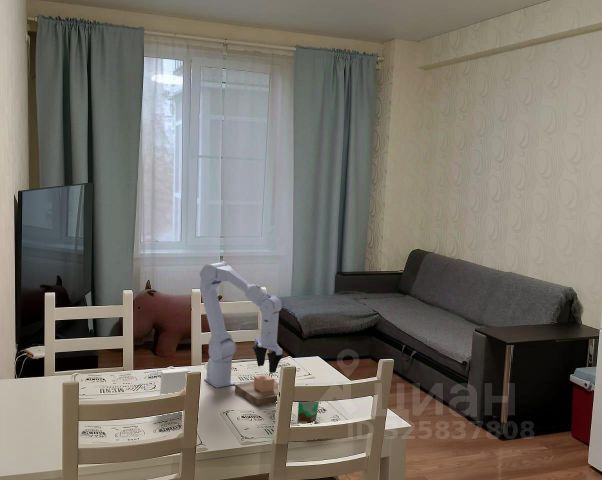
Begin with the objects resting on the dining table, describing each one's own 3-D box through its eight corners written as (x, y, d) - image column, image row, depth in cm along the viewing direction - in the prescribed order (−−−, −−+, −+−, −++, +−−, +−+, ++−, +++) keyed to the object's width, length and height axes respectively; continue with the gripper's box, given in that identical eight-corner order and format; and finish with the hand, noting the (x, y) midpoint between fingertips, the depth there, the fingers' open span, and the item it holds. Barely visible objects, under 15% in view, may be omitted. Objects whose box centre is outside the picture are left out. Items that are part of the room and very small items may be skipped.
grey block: (163, 413, 192) (165, 376, 191) (156, 402, 200) (158, 367, 199) (191, 409, 196) (193, 373, 195) (183, 399, 204) (185, 365, 203)
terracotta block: (253, 387, 213) (254, 376, 213) (265, 385, 216) (266, 374, 216) (261, 392, 209) (262, 381, 209) (273, 390, 212) (274, 378, 212)
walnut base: (234, 391, 215) (235, 384, 215) (270, 385, 224) (270, 378, 224) (257, 406, 203) (258, 399, 203) (294, 399, 212) (294, 392, 212)
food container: (315, 430, 188) (318, 399, 187) (296, 427, 189) (298, 396, 188) (322, 415, 200) (324, 386, 199) (303, 412, 201) (306, 383, 200)
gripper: (248, 327, 215) (245, 364, 216) (271, 338, 203) (268, 377, 205) (265, 325, 219) (262, 361, 221) (288, 335, 207) (285, 374, 209)
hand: (266, 369), depth 213 cm, fingers open, 7 cm apart
